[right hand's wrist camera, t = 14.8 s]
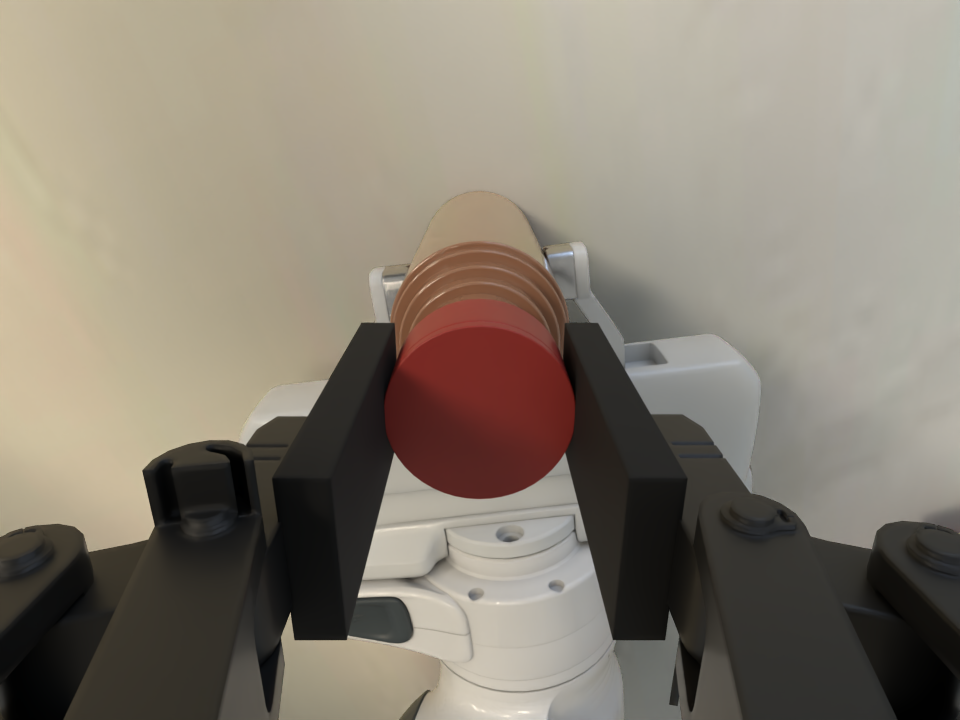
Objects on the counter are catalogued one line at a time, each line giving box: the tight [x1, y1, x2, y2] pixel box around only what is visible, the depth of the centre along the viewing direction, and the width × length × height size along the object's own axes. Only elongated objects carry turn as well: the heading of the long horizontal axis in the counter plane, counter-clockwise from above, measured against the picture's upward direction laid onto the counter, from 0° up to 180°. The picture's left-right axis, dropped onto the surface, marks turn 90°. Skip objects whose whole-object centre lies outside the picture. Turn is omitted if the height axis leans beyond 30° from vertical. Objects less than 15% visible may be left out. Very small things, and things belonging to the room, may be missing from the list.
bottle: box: [390, 191, 569, 359], centre depth 21 cm, size 5×5×18 cm
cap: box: [384, 299, 575, 499], centre depth 13 cm, size 4×4×2 cm
